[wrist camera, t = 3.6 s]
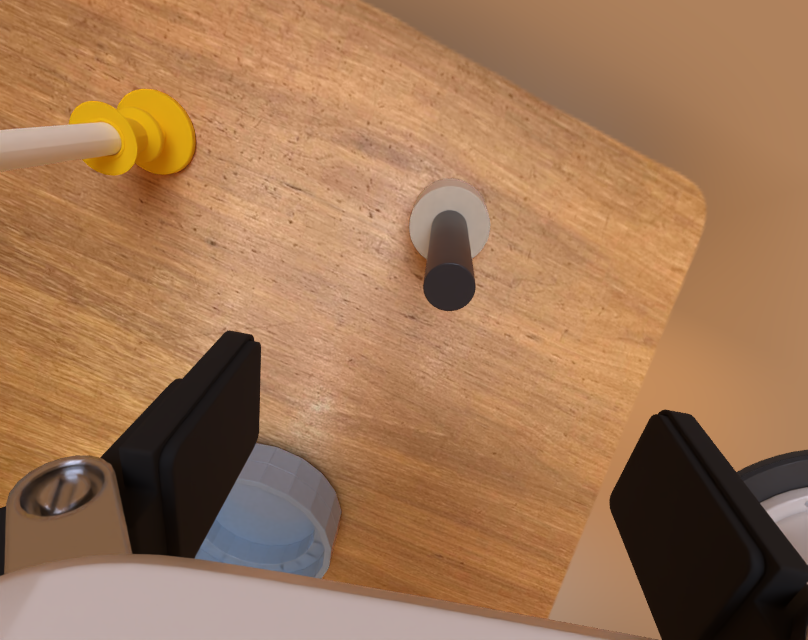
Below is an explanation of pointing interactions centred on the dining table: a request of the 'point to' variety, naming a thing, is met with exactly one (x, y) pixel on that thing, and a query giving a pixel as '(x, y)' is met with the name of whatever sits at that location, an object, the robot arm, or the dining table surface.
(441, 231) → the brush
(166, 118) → the candle
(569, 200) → the dining table surface
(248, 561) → the bowl
